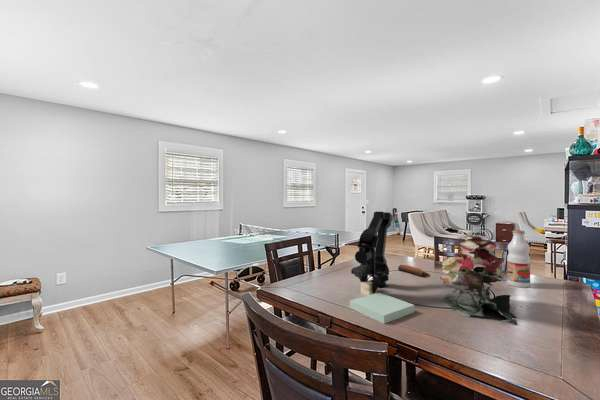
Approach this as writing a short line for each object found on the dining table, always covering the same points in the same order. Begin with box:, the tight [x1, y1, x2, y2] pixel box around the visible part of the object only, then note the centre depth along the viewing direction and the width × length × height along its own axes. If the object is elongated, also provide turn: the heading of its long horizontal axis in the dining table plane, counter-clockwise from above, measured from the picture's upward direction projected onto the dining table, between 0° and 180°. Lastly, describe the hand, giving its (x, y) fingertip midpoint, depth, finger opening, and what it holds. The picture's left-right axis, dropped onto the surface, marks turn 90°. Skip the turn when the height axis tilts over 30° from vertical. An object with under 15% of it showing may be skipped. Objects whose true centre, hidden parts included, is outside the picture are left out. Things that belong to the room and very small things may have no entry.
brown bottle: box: [397, 264, 432, 278], centre depth 172 cm, size 18×7×7 cm
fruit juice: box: [506, 229, 531, 289], centre depth 147 cm, size 9×9×28 cm
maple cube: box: [360, 279, 379, 296], centre depth 136 cm, size 6×6×6 cm
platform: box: [349, 292, 415, 324], centre depth 117 cm, size 18×18×3 cm
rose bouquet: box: [439, 235, 518, 326], centre depth 118 cm, size 26×29×30 cm
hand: (369, 291), depth 136 cm, fingers closed on maple cube, 5 cm apart
